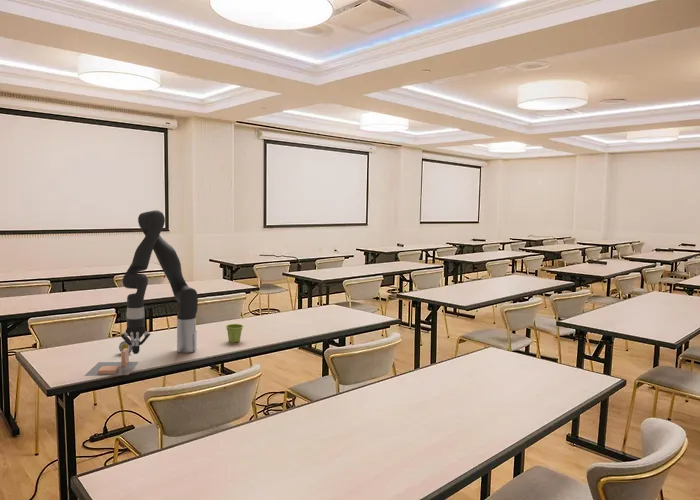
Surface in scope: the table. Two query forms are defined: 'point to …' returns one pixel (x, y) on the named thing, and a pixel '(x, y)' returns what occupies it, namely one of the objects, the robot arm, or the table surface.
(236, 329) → the plant pot
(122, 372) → the slate board
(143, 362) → the table surface
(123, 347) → the pocket watch
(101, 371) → the tile near
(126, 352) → the tile far
